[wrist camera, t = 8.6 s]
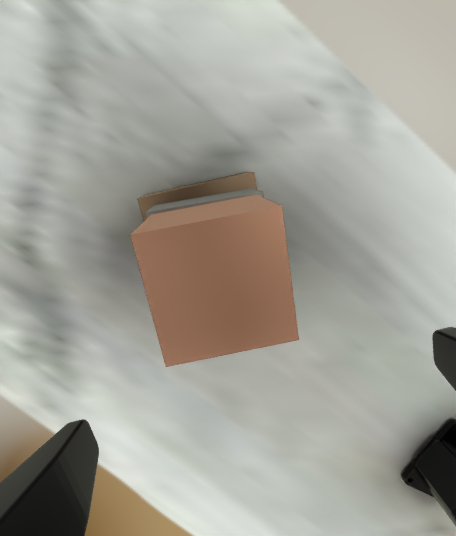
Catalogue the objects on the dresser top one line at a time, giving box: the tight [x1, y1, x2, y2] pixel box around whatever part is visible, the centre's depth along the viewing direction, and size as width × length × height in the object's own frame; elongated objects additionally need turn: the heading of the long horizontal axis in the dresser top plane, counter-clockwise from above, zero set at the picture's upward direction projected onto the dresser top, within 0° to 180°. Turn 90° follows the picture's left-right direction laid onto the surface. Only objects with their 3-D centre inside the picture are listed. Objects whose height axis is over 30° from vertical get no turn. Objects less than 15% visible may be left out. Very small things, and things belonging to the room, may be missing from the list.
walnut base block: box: [137, 172, 257, 221], centre depth 19 cm, size 6×6×3 cm
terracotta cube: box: [130, 195, 299, 367], centre depth 13 cm, size 4×4×4 cm
